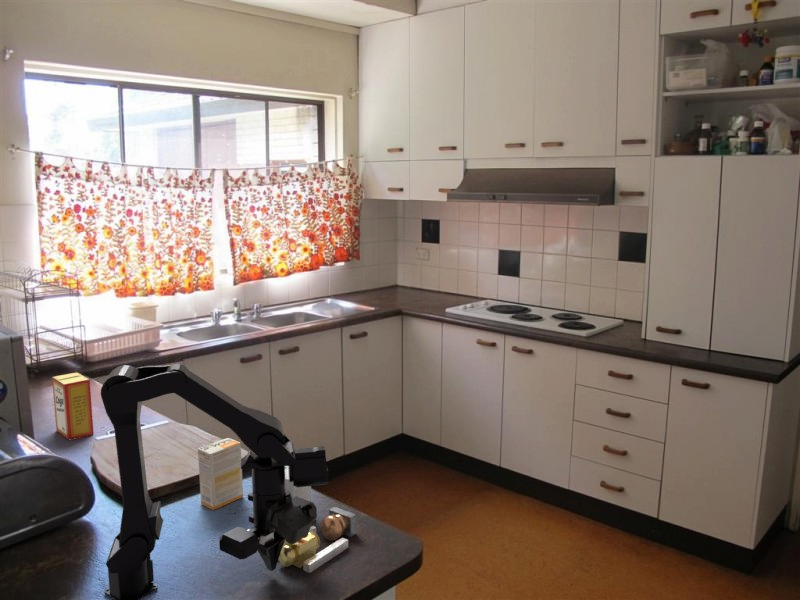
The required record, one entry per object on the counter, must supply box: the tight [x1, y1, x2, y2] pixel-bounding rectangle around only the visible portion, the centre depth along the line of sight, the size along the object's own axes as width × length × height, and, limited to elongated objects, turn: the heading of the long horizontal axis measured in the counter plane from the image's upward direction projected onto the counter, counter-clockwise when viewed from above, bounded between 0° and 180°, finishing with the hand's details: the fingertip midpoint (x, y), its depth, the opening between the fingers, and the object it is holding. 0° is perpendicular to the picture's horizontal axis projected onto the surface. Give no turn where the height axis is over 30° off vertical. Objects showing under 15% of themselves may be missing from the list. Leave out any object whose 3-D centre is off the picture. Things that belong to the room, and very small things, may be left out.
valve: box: [278, 531, 321, 568], centre depth 133 cm, size 8×4×6 cm, turn 144°
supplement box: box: [197, 437, 244, 511], centre depth 155 cm, size 8×5×13 cm, turn 141°
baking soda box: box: [51, 372, 94, 440], centre depth 194 cm, size 10×6×16 cm
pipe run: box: [302, 506, 357, 574], centre depth 138 cm, size 16×10×5 cm, turn 144°
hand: (271, 569), depth 128 cm, fingers closed
